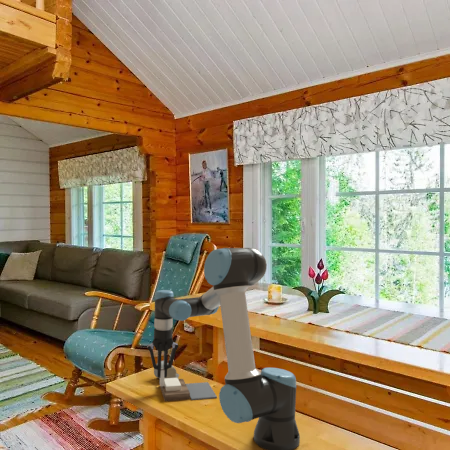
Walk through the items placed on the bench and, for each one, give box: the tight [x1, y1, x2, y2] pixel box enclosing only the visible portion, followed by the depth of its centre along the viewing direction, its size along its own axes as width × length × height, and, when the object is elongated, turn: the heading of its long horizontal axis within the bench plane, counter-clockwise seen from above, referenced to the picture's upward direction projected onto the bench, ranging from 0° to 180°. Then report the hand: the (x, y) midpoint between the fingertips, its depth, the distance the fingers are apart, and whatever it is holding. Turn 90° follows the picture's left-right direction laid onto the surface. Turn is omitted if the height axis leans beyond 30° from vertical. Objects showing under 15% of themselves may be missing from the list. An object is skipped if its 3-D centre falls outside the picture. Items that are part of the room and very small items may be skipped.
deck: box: [159, 378, 191, 402], centre depth 185 cm, size 16×10×2 cm, turn 15°
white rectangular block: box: [164, 377, 181, 391], centre depth 184 cm, size 9×6×2 cm, turn 15°
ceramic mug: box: [153, 360, 180, 380], centre depth 199 cm, size 11×8×8 cm
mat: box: [185, 381, 218, 401], centre depth 186 cm, size 16×10×1 cm, turn 15°
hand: (161, 385), depth 183 cm, fingers closed
